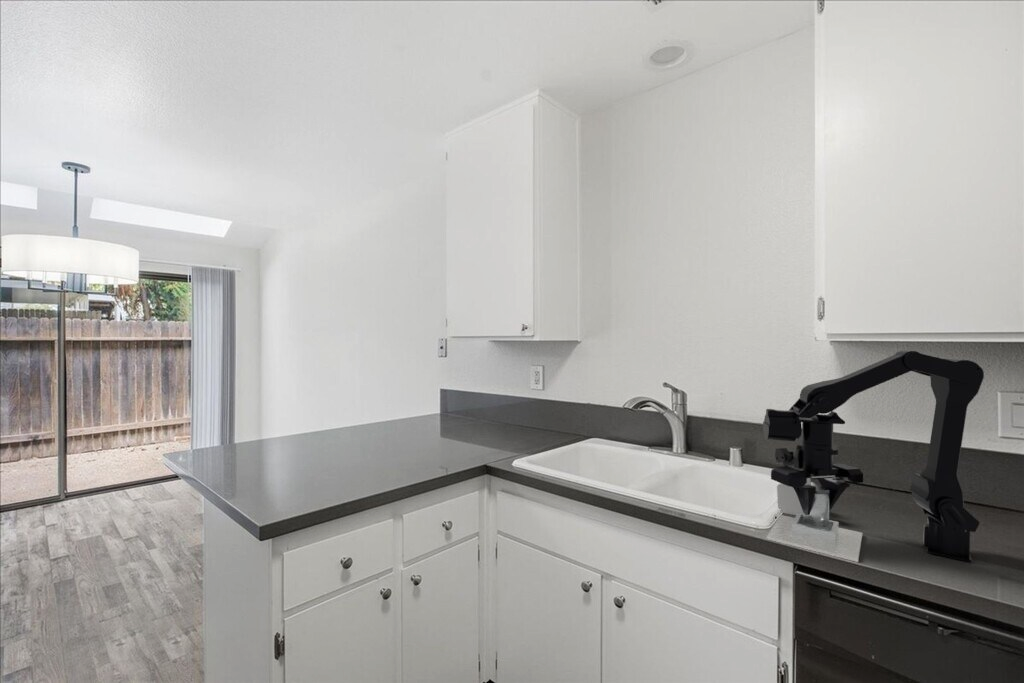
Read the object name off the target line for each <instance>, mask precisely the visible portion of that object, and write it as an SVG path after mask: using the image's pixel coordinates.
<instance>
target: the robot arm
mask: <svg viewBox="0 0 1024 683" xmlns="http://www.w3.org/2000/svg"><path fill="white" fill-rule="evenodd" d="M910 372H914V373H917V374H919V375H923V376H926V377H930V387H931V390H932V392H933V393H932V394H933V395H934V398H935V406H934V415H933V420H932V421H933V422H932V428H931V433H930V434H931V435H930V441H929V442H930V443H929V447H928V448H929V449H928V455H927V460H926V467H925V469H924V470H923V471H921V473H920V474H919V473H916V472H912V474H911V486H910V487H909V489H908V492H911V496H912V499H913V500H914V502H915V503H916V505H917V506H919V507H920V508H921V509H922V513H923V514H924V515H926V516H927V523H923V541H922V542H923V546H924V547H925V548H926V553H929V554H933V555H937V556H941V557H945V558H949V559H954V560H958V561H959V560H960V561H964V562H966V563H967V562H968V563H972V557H971V532H972V533H975V532H976V531H977V529H978V527H979V525H980V521H979V520H978V519H976V518H975V517H974V516H973V515H972V514H971V513H970V512H969V511H968V510H966V508H965V504H964V503H965V502H964V500H965V499H964V491H963V488H962V486H961V483H960V480H959V476H958V472H959V464H960V458H961V451H962V446H963V445H962V444H963V438H964V437H963V436H964V432H965V430H964V429H965V425H966V424H965V423H966V418H967V410H968V406H969V404H970V403H971V402H972V401H973V400H974V398H975V397H976V396H978V393H979V392H980V388H981V385H983V384H982V383H983V381H984V378H985V371H984V368H982V367H981V366H980V365H979V364H978V363H976V362H975V361H973V360H970V359H969V360H968V359H958V358H941V357H936V356H932V355H927V354H924V353H920V352H918V351H917V350H916V351H915V350H914V351H913V350H900V351H897V352H896V353H895V354H892V355H891V356H889V357H886V358H883V359H882V360H879V361H877V362H875V363H871V364H870V365H867V366H865V367H862V368H861V369H858V370H855V371H854V372H851V373H849V374H846V375H844V376H841V377H838V378H833V379H829V380H827V379H826V380H822V381H819V382H815V383H811V384H808V385H806V386H804V387H803V388H802V389H800V390H801V391H800V394H799V398H798V399H797V400H796V401H795V403H794V404H793V405H792V406H791V407H790V408H789V410H782V409H781V410H780V409H779V410H778V409H773V408H766V410H765V415H764V419H763V422H762V430H763V437H764V438H765V440H767V441H768V440H771V441H784V442H786V441H787V442H795V441H796V440H797V439H798V440H799V439H800V437H801V444H797V445H796V448H795V449H796V450H795V451H794V450H793V451H789V450H788V448H787V447H782V448H776V449H775V452H774V453H775V455H774V457H775V461H776V462H777V463H778V464H782V466H774V467H773V468H772V469H771V471H770V480H773V481H775V482H778V483H782V484H784V485H787V486H790V487H793V488H794V490H795V492H796V494H797V496H798V499H799V502H800V505H801V507H802V510H803V513H804V514H806V515H809V514H810V511H811V508H812V503H813V499H814V495H815V490H816V487H814V486H812V485H811V482H812V480H818V482H819V484H820V487H823V488H825V489H828V490H829V513H830V512H831V510H832V508H834V506H835V504H836V503H837V502H838V500H839V499H840V497H841V496H842V495H843V493H844V492H845V491H846V490H847V488H850V486H851V484H850V483H852V484H861V483H864V473H863V471H862V470H861V468H858V467H856V466H852V465H848V464H845V463H840V462H839V463H833V462H834V461H833V460H834V459H833V458H834V456H836V455H838V454H839V449H836V448H834V424H835V425H845V424H846V421H845V420H844V419H842V418H841V417H840V416H839V415H838V413H837V412H835V410H836V409H838V408H839V407H842V406H843V405H844V404H846V402H848V401H849V400H850V399H851V398H853V397H854V396H855V395H857V394H859V393H862V392H865V391H866V390H867V391H868V389H871V388H874V387H876V386H878V385H881V384H883V383H886V382H888V381H890V380H891V381H892V380H893V379H895V378H898V377H900V376H903V375H906V374H908V373H910ZM793 467H794V468H793ZM844 478H847V480H848V481H849V482H850V483H847V482H845V479H844Z"/></svg>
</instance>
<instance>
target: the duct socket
mask: <svg viewBox="0 0 1024 683" xmlns="http://www.w3.org/2000/svg"><path fill="white" fill-rule="evenodd" d="M839 524H840V523H839V521H836V520H832V519H829V526H828V527H816V526H812V525H809V524H807V523H805V522H804V515H803V514H799V513H798V514H797V515H796V516H794V517H792V516H787V515H783V514H780V515H779V516H778V518H777V520H776V521H775V523H774V524H773V526H772V528H771V529H770V531H769V532H768V534H767V535H766V540H769V541H773V542H777V543H779V544H785V545H788V546H793V547H797V548H800V549H805V550H807V551H808V550H809V551H814V552H817V553H820V554H823V555H828V556H833V557H836V558H840V559H843V560H844V559H845V560H848V561H852V562H856V563H859V559H860V553H861V547H862V541H863V532H861V531H857V530H852V529H847V528H844V527H839Z"/></svg>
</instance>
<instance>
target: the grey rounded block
mask: <svg viewBox="0 0 1024 683" xmlns="http://www.w3.org/2000/svg"><path fill="white" fill-rule="evenodd" d="M811 485H812V486H815V485H817V484H816V483H815V482H814V481H813V482H812V481H811ZM776 493H777V494H776V497H777V509H778V508H779V509H781V511H782V512H781V511H780V512H781V513H783V514H787V515H791V516H794V517H796V515H797V514H798V513H799V514H803V515H804V513H803V510H802V507H801V505H800V502H799V499H798V496H797V494H796V492H795V490H794V488H793V487H790V486H787V485H784V484H782V483H779V482H778V483H777V486H776ZM779 509H778V510H779Z"/></svg>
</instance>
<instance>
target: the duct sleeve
mask: <svg viewBox="0 0 1024 683" xmlns="http://www.w3.org/2000/svg"><path fill="white" fill-rule="evenodd" d="M814 487H816V490H815V495H814V499H813V503H812V508H811V511H810V514H809V515H806V514H804V522H805V523H807V524H809V525H812V526H816V527H828V526H829V520H830V512H829V490H828V489H825V488H823V487H822V486H821V485H817V484H816V485H815V486H814Z"/></svg>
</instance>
